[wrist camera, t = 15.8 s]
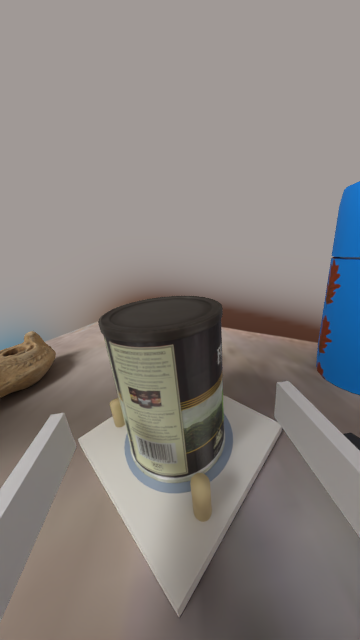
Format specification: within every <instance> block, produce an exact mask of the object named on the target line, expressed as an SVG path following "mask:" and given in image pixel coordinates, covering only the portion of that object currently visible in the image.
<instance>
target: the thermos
mask: <svg viewBox="0 0 360 640" xmlns="http://www.w3.org/2000/svg"><path fill="white" fill-rule="evenodd" d="M332 256H334V257H333V258H331V264H330V271H329V277H328V283H327V290H326V296H325V302H324V309H323V316H322V322H321V328H320V335H319V342H318V351H317V364H316V366H317V371H318V372H319V373H320V374H321V376H322V377H323V378H324V379H326V380H327V381H329V382H331V383H332V384H334V385H335V386H337V387H340V388H342V389H344V390H347V391H349V392H351V393H355V394H358V395H360V181H359V182H357V183H355V184H353V185H350V186H348V187H347V188H346V189H345V190H344V192H343V196H342V199H341V203H340V206H339V213H338V219H337V226H336V232H335V238H334V245H333V251H332Z"/></svg>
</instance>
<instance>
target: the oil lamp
mask: <svg viewBox="0 0 360 640" xmlns="http://www.w3.org/2000/svg"><path fill="white" fill-rule="evenodd" d="M55 355H56V353H55V351H54V350H53V349H52V348H51V346H48V345H47V344H46V343H45V342H44V341H43V340H42V338H41V337H40V336H39V335H38V334H37V333H36V332H33V331H32V332H28V333H27V334H26V335H25V336H24V342H23V343H22V344H18V345H16V346H13V347H10V348H6V349H4V350H1V351H0V398H1V397H3V396H5V395H7V394H9V393H12V392H15V391H19V390H22V389H26V388H28V387H30V386H31V385H33V384H35V383H36V382H38V381H39V380H40V379H41V378H42V377H43V376H44V375H45V373H46V372H47V371H48V370H49V368H50V367H51V365H52V363H53V361H54V359H55Z"/></svg>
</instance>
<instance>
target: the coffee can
mask: <svg viewBox="0 0 360 640" xmlns="http://www.w3.org/2000/svg"><path fill="white" fill-rule="evenodd" d="M221 317H222V305H221V304H220V303H219V302H217V301H215V300H213V299H209V298H205V297H197V296H171V297H160V298H153V299H147V300H142V301H137V302H133V303H129V304H126V305H123V306H120V307H117V308H115V309H112V310H111V311H109V312H107V313H105V314H104V315H103V316H102V317H101V318H100V319H99V321H98V323H99V327H100V330H101V332H102V334H103V335H104V339H105V344H106V348H107V352H108V356H109V360H110V364H111V369H112V372H113V376H114V380H115V385H116V389H117V393H118V397H119V402H120V405H121V409H122V413H123V417H124V422H125V426H126V429H127V434H128V438H129V442H130V451H131V455H132V458H133V460H134V462H135V464H136V465H137V467H138V468H139V469H140V470H141V471H142V472H143V473H144V474H145V475H147V476H149V477H151V478H153V479H155V480H157V481H160V482H165V483H181V482H188V481H190V480H191V478H192V477H193V476H194V475H195V474H196V473H203V474H204V473H206V472H207V471H208V470H210V469H211V468H212V467H213V466H214V464H215V463H216V462H217V460H218V459H219V457H220V456H221V454H222V451H223V448H224V444H225V429H224V408H223V377H222V337H221Z"/></svg>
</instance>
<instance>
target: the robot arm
mask: <svg viewBox="0 0 360 640" xmlns="http://www.w3.org/2000/svg"><path fill="white" fill-rule="evenodd" d="M274 417H275V418H276V420H277V421H278V423H279V424H280V425H281V427H282V428H283V430H284V431H285V433H286V434H287V435H288V437H289V438H290V440H291V441H292V442H293V444H294V445H295V447H296V448H297V450H298V451H299V452H300V454H301V455H302V457H303V458H304V460H305V461H306V462H307V464H308V465H309V467H310V468H311V469H312V471H313V472H314V474H315V475H316V477H317V478H318V479H319V481H320V482H321V484H322V485H323V486H324V488H325V489H326V491H327V492H328V494H329V495H330V496H331V498H332V499H333V501H334V502H335V504H336V505H337V506H338V508H339V509H340V511H341V512H342V513H343V515H344V516H345V518H346V519H347V521H348V522H349V523H350V525H351V526H352V528H353V529H354V531H355V532H356V533H357V535H358V536H359V538H360V438H359V437H357V436H355V435H354V434H352V433H347V434H342V433H341V432H340V431H339V430H338V429H337V428H336V427H335V426H334V425H333V424H332V423H331V422H330V421H329V420H328V419H327V418H326V417H325V416H324V415H323V414H322V413H321V412H320V411H319V410H318V409H317V408H316V407H315V406H314V405H313V404H312V403H311V402H310V401H309V400H308V399H307V398H306V397H305V396H303V395H302V394H301V393H300V392H299V391H298V390H297V389H296V388H295V387H294V386H293V385H292V384H291V383H290V382H289V381H284V382H277V388H276V400H275V412H274ZM76 447H77V446H76V444H75V441H74V438H73V435H72V432H71V430H70V427H69V424H68V421H67V419H66V416H65V413H59V414H52V415H50V417H49V418H48V420H47V421H46V423H45V424H44V426H43V427H42V429H41V430H40V432H39V433H38V435H37V436H36V437H35V439H34V440H33V442H32V443H31V445H30V446H29V448H28V449H27V451H26V452H25V454H24V455H23V456H22V458H21V459H20V461H19V462H18V464H17V465H16V467H15V468H14V470H13V471H12V473H11V474H10V475H9V477H8V478H7V480H6V481H5V483H4V484H3V486H2V487H1V489H0V621H1V619H2V617H3V614H4V612H5V610H6V608H7V605H8V603H9V601H10V598H11V596H12V594H13V592H14V589H15V587H16V585H17V582H18V580H19V578H20V575H21V573H22V571H23V569H24V566H25V564H26V562H27V559H28V557H29V555H30V553H31V550H32V548H33V546H34V543H35V541H36V539H37V536H38V534H39V532H40V530H41V527H42V525H43V523H44V520H45V518H46V516H47V514H48V511H49V509H50V507H51V504H52V502H53V500H54V497H55V495H56V493H57V491H58V488H59V486H60V484H61V481H62V479H63V477H64V475H65V472H66V470H67V468H68V465H69V463H70V461H71V459H72V456H73V454H74V452H75V449H76Z"/></svg>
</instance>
